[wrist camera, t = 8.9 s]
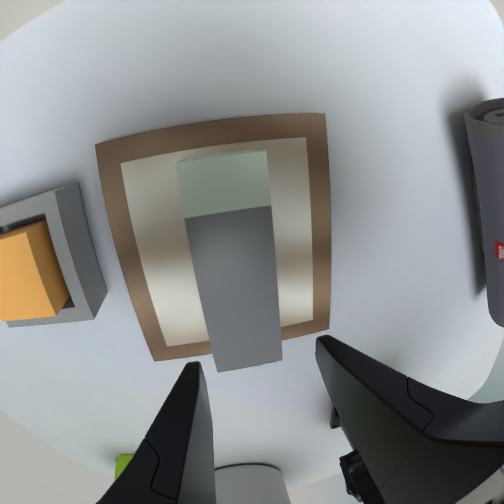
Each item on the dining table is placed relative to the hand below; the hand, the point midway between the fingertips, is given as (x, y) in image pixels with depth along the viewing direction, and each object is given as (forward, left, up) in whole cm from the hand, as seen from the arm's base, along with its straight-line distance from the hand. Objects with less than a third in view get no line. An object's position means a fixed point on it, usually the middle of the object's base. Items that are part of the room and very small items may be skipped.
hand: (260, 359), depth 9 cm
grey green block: (0, 0, -10) cm, 10 cm away
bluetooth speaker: (0, -27, -11) cm, 29 cm away
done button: (+2, +13, -8) cm, 16 cm away
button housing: (+2, +13, -11) cm, 17 cm away
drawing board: (0, 0, -11) cm, 11 cm away
